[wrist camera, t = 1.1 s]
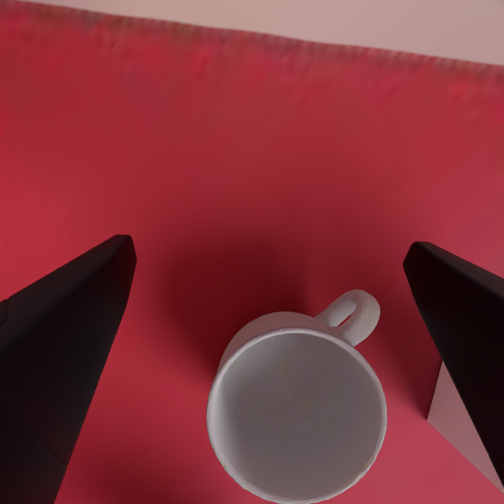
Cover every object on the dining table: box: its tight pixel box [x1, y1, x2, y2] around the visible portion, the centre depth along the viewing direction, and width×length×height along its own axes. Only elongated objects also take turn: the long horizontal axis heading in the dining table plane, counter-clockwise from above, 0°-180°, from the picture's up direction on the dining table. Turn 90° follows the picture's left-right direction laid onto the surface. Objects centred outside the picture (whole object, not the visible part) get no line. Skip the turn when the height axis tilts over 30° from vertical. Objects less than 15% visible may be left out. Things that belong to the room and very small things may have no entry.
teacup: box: [206, 289, 387, 504], centre depth 21 cm, size 14×11×8 cm
